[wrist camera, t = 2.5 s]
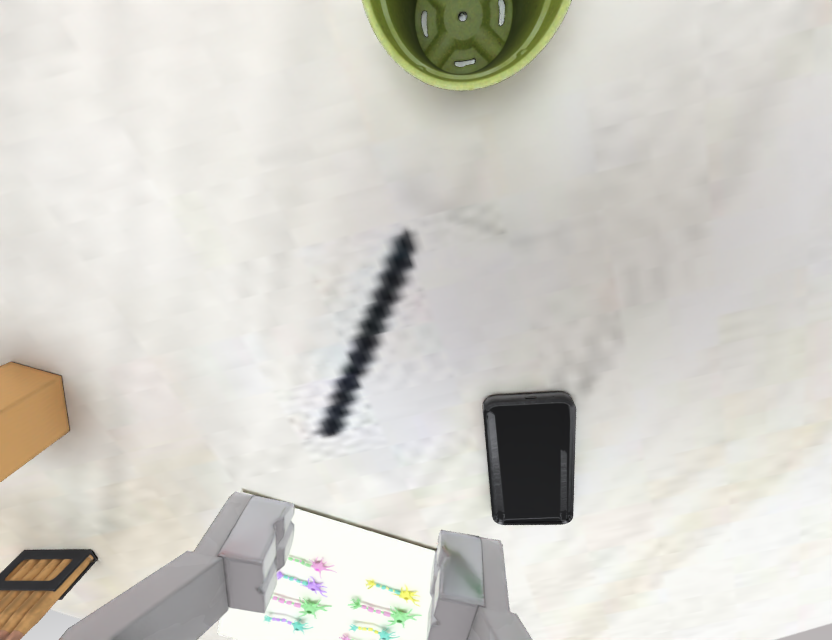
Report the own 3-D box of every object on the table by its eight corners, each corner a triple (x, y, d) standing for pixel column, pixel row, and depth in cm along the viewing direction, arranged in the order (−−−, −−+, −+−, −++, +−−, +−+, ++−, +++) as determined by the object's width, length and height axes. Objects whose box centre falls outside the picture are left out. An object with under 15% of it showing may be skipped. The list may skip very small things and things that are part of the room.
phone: (493, 525, 40) (482, 403, 34) (492, 515, 41) (481, 395, 35) (574, 524, 39) (577, 398, 33) (571, 514, 40) (574, 390, 34)
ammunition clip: (92, 549, 51) (-8, 660, 40) (98, 559, 52) (2, 670, 41) (23, 550, 53) (-91, 656, 42) (30, 559, 53) (-79, 666, 42)
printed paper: (498, 567, 44) (500, 580, 43) (418, 690, 57) (417, 703, 56) (242, 488, 43) (235, 499, 42) (218, 631, 56) (212, 643, 55)
